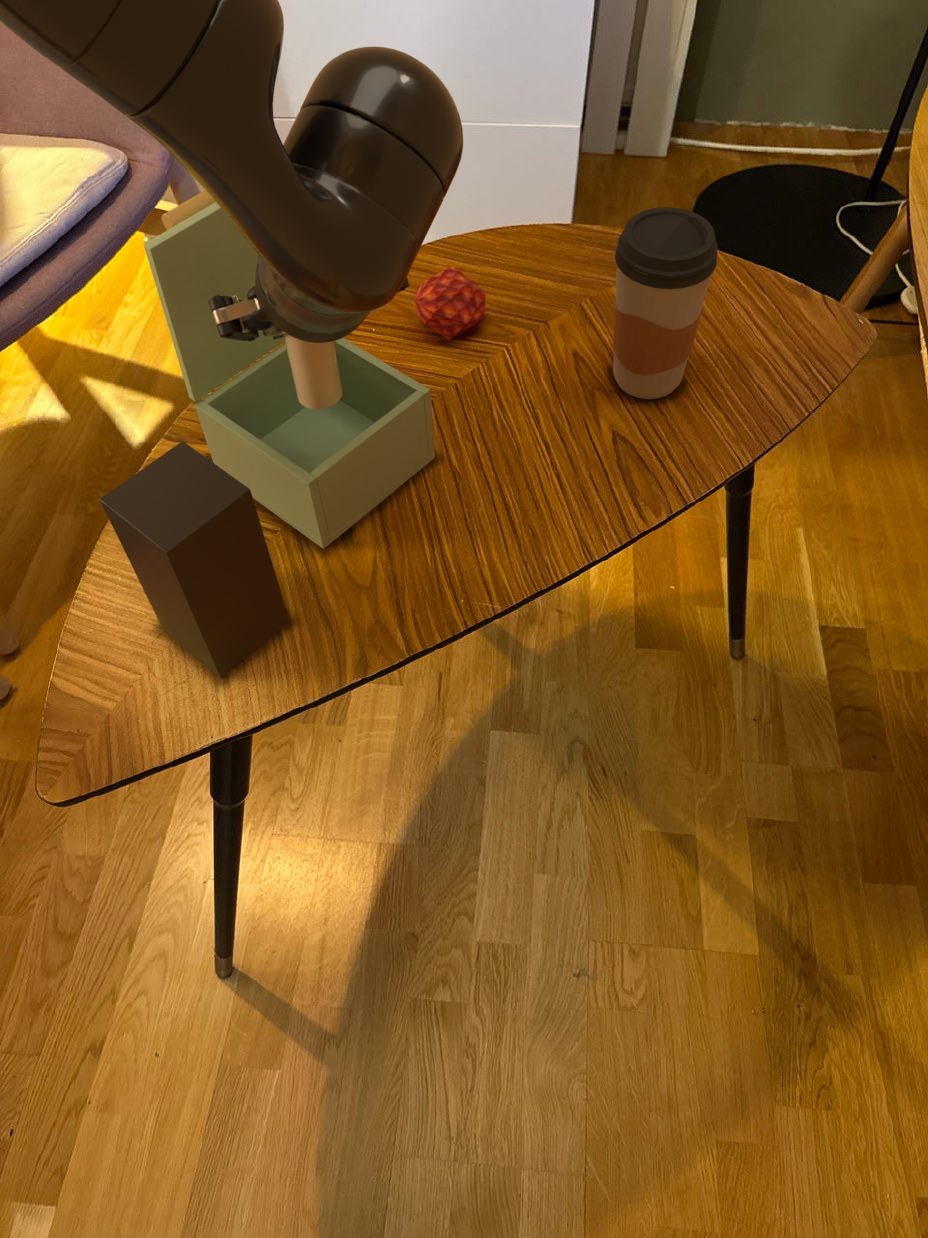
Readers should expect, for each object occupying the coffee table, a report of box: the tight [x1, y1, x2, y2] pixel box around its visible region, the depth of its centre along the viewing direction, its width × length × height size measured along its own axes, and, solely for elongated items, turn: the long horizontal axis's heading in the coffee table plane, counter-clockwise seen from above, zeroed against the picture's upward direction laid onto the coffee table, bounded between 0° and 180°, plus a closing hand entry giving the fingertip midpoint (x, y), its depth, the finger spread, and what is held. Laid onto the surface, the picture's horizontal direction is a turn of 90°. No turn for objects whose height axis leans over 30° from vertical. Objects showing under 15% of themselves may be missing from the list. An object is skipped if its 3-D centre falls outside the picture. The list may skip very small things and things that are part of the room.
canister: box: [284, 334, 342, 409], centre depth 75 cm, size 4×4×10 cm
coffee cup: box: [612, 206, 719, 400], centre depth 86 cm, size 8×8×15 cm
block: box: [99, 440, 291, 680], centre depth 71 cm, size 7×7×15 cm
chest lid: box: [143, 189, 285, 403], centre depth 77 cm, size 14×14×5 cm
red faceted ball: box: [414, 265, 487, 341], centre depth 95 cm, size 6×7×8 cm
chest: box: [193, 337, 436, 550], centre depth 83 cm, size 14×14×8 cm
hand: (300, 317), depth 75 cm, fingers closed on canister, 3 cm apart
